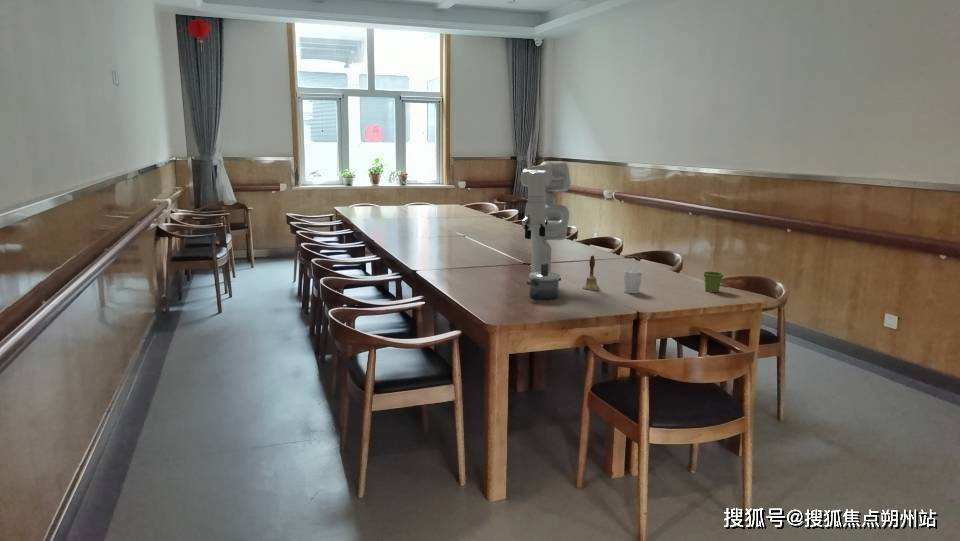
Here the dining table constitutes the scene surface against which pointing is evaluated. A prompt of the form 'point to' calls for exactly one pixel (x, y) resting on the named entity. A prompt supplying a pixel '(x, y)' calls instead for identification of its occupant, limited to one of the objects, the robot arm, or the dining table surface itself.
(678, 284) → the dining table surface
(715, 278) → the plant pot
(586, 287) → the hand bell
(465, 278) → the dining table surface
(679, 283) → the dining table surface
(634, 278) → the white cup
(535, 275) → the lid
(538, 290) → the pot
